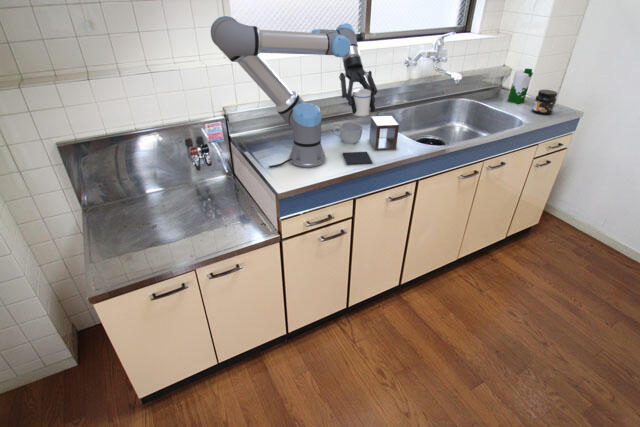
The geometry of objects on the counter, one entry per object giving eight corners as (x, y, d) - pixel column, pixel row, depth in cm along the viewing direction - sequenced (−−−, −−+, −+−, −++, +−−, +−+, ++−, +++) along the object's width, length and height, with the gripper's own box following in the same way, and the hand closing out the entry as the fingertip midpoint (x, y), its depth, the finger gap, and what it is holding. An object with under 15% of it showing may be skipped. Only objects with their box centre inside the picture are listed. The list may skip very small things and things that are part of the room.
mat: (347, 165, 165) (347, 163, 164) (342, 154, 174) (342, 152, 173) (372, 163, 166) (372, 162, 165) (366, 153, 175) (366, 151, 174)
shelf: (374, 150, 177) (377, 125, 171) (369, 140, 187) (371, 116, 181) (395, 149, 178) (399, 124, 172) (389, 139, 188) (391, 115, 182)
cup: (353, 116, 155) (355, 94, 150) (350, 110, 161) (351, 88, 156) (371, 115, 156) (373, 93, 151) (367, 110, 162) (369, 88, 157)
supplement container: (528, 112, 225) (534, 91, 218) (536, 108, 231) (542, 88, 224) (547, 116, 218) (554, 95, 211) (554, 112, 224) (561, 92, 217)
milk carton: (519, 104, 236) (529, 71, 225) (505, 101, 242) (514, 68, 231) (526, 102, 241) (536, 68, 230) (512, 98, 247) (521, 66, 236)
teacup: (361, 137, 190) (362, 122, 186) (361, 146, 181) (362, 130, 177) (333, 136, 191) (333, 120, 187) (331, 145, 182) (332, 129, 178)
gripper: (371, 64, 165) (383, 113, 161) (326, 67, 160) (338, 117, 156) (377, 53, 158) (390, 104, 154) (331, 56, 153) (343, 109, 149)
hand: (364, 111), depth 155 cm, fingers closed on cup, 7 cm apart
